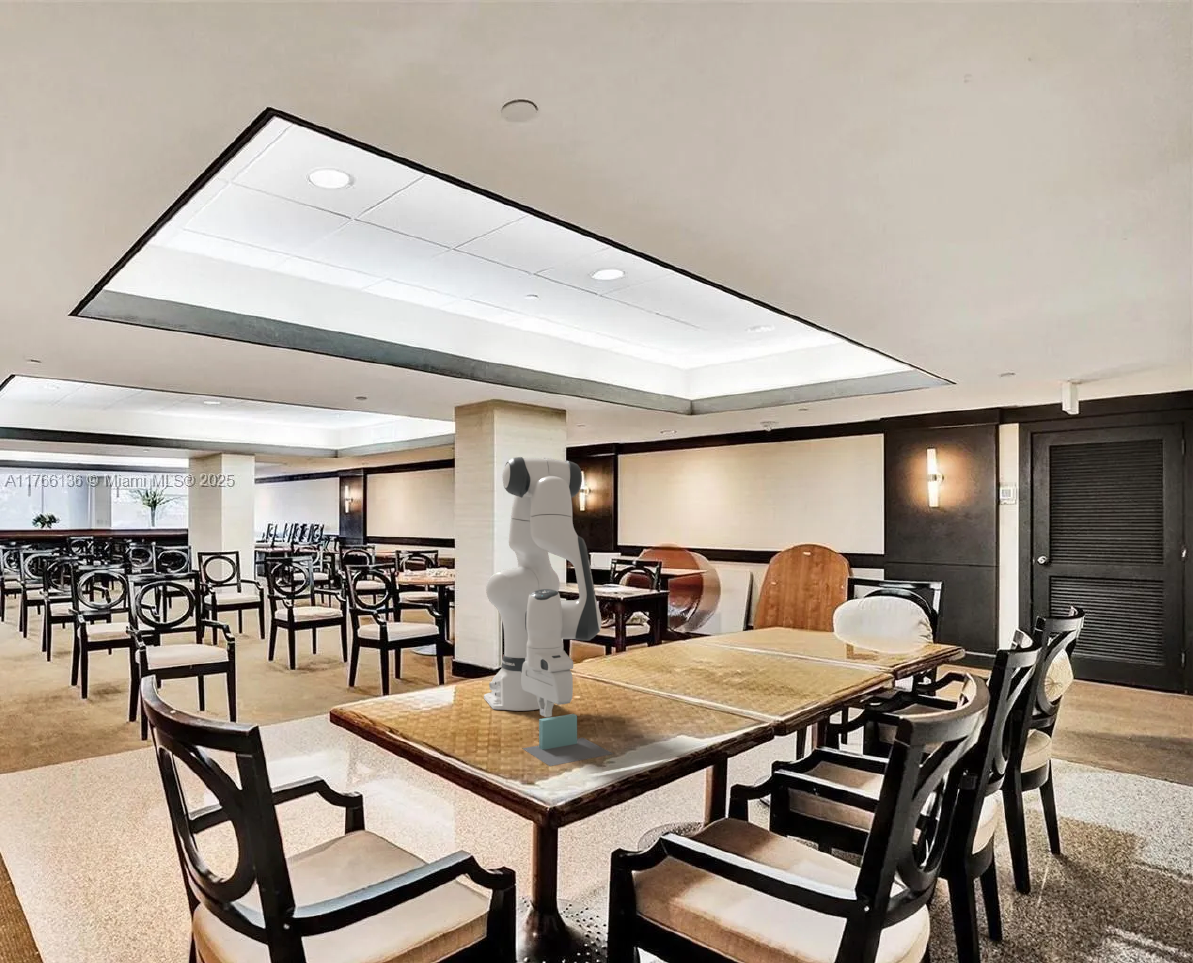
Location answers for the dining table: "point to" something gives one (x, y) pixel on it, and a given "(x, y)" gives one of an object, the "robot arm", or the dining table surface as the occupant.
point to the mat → (568, 752)
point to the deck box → (557, 731)
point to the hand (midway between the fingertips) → (545, 716)
